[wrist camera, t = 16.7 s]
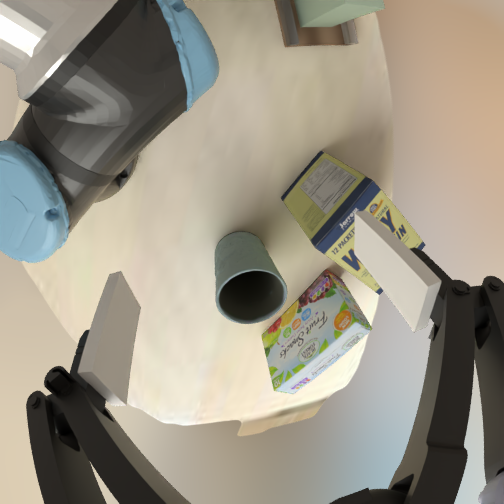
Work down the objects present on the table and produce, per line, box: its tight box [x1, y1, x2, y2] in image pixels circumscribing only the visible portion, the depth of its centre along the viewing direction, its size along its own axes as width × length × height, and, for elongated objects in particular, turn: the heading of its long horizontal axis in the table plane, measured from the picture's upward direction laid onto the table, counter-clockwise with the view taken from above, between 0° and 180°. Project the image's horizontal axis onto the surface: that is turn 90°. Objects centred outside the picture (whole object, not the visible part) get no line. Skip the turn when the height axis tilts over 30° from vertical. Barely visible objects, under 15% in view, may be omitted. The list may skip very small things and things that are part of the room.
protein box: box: [281, 151, 425, 295], centre depth 40 cm, size 10×16×16 cm
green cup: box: [215, 232, 287, 324], centre depth 44 cm, size 10×10×12 cm
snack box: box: [262, 270, 372, 394], centre depth 52 cm, size 21×6×15 cm, turn 144°
